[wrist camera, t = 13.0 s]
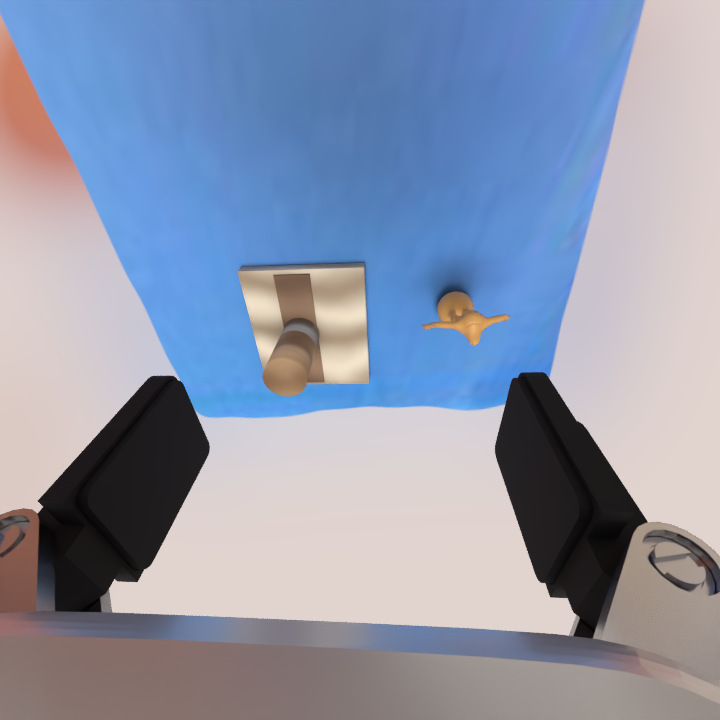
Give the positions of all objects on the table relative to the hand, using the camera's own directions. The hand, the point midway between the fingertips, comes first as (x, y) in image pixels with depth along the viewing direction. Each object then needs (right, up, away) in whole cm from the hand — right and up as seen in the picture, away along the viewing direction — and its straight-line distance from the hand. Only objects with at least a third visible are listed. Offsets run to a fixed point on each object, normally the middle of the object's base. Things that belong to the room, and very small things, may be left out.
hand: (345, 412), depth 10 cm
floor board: (-6, +6, +33) cm, 34 cm away
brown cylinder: (-7, +5, +32) cm, 33 cm away
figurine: (+11, +9, +30) cm, 33 cm away
